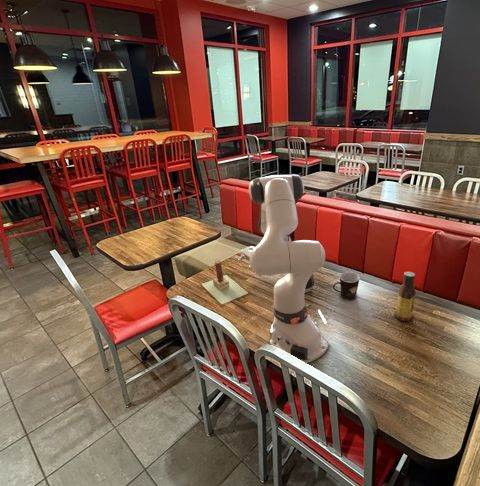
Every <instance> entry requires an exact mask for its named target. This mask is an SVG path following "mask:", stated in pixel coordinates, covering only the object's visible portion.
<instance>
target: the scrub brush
mask: <svg viewBox="0 0 480 486" xmlns="http://www.w3.org/2000/svg"><path fill="white" fill-rule="evenodd" d="M214 266H215V271H216V272H215V274H216V277H214V278H213V279H212V280H213V285H214V286H216V287H217V288H218V289H219V290H220V291H221V290H223V289H225V288H227V287H229V281H228V280H226V279H225V278H224V277H223V276H224V273H223V267H222V261H221V260H216V261H215V262H214Z"/></svg>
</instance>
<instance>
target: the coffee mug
mask: <svg viewBox="0 0 480 486" xmlns="http://www.w3.org/2000/svg"><path fill="white" fill-rule="evenodd" d="M360 280H361V277H360V275H359V274H357V273H356V272H352V271H345V272H342V273H340V274H339V281H337V282H334V284H333V286H332V288H333V289H334V291H335V292H338V293H340V297H341V298H342V299H344V300H345V301H353V300H356V298H357V293H358V288H359V283H360ZM336 285H340V290H338V289H336V288H335V287H336Z"/></svg>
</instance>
